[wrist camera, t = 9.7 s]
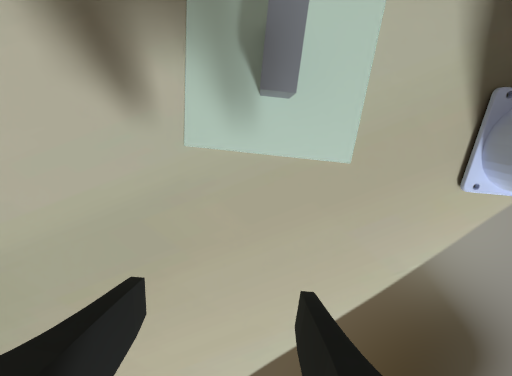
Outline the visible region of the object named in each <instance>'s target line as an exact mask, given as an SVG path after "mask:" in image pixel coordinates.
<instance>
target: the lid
mask: <svg viewBox="0 0 512 376" xmlns="http://www.w3.org/2000/svg"><path fill="white" fill-rule="evenodd" d="M385 3H386V0H187V13H186V70H185V128H184V146H191V147H200V148H210V149H219V150H229V151H238V152H247V153H257V154H266V155H276V156H285V157H294V158H304V159H313V160H323V161H332V162H342V163H351V159H352V154H353V150H354V145H355V141H356V136H357V132H358V127H359V122H360V118H361V113H362V109H363V104H364V100H365V95H366V90H367V86H368V81H369V77H370V72H371V68H372V63H373V58H374V54H375V49H376V45H377V40H378V35H379V31H380V26H381V22H382V17H383V13H384V8H385Z"/></svg>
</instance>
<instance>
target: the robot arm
mask: <svg viewBox="0 0 512 376" xmlns="http://www.w3.org/2000/svg"><path fill="white" fill-rule="evenodd" d="M507 93H508V97H506V94H507ZM474 185H475V187H474V188H473V186H474ZM460 187H461V189H462V190H463V191H466V192H475V193H486V194H497V195H508V196H512V88H511V87H501V88H497V89H495V90H494V91H493V93H492V95H491V98H490V101H489V104H488V107H487V110H486V113H485V116H484V119H483V121H482V124H481V127H480V130H479V133H478V136H477V139H476V142H475V145H474V147H473V150H472V153H471V156H470V159H469V162H468V165H467V168H466V171H465V173H464V176H463V179H462V182H461V186H460ZM145 316H146V298H145V279H144V278H141V277H130V278H128V279H127V280H125V281H124V282H122V283H121V284H119V285H118V286H116V287H115V288H113V289H112V290H110V291H109V292H108V293H106V294H105V295H103V296H102V297H100V298H99V299H97V300H96V301H94V302H93V303H91V304H90V305H88V306H87V307H85V308H84V309H82V310H80V311H79V312H77V313H76V314H74V315H72V316H71V317H69V318H67V319H66V320H64V321H63V322H61V323H59V324H58V325H56V326H54V327H53V328H51V329H49V330H48V331H46V332H44V333H42V334H41V335H39V336H37V337H35V338H33V339H31V340H29V341H28V342H26V343H24V344H22V345H20V346H18V347H16V348H14V349H12V350H10V351H8V352H6V353H4V354H2V355H0V376H114V374H115V373H116V371H117V369H118V368H119V366H120V364H121V362H122V361H123V359H124V357H125V356H126V354H127V352H128V350H129V349H130V347H131V345H132V344H133V342H134V340H135V338H136V336H137V334H138V332H139V330H140V328H141V325H142V323H143V321H144V318H145ZM295 334H296V344H297V351H298V357H299V362H300V366H301V372H302V376H382V375H381V374H380V373H379V372H378V371H377V370H376V369H375V368H374V367H373V366H372V365H371V364H370V363H369V362H368V360H367V359H366V358H365V357H364V356H363V355H362V354H361V353H360V351H359V350H358V349H357V348H356V347H355V346H354V344H353V343H352V342H351V341H350V340H349V338H348V337H347V336H346V335H345V333H344V332H343V331H342V330H341V328H340V327H339V326H338V325H337V323H336V322H335V320H334V319H333V318H332V316H331V315H330V314H329V312H328V311H327V310H326V308H325V307H324V305H323V304H322V303H321V301H320V300H319V298H318V297H317V295H316V294H315V293H314V292H305V291H301V293H300V299H299V305H298V311H297V316H296V322H295Z"/></svg>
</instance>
